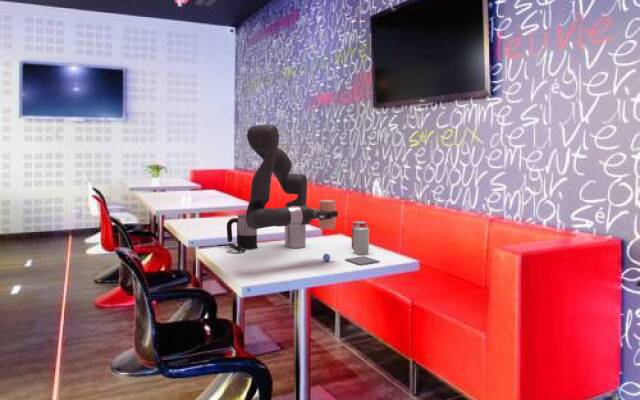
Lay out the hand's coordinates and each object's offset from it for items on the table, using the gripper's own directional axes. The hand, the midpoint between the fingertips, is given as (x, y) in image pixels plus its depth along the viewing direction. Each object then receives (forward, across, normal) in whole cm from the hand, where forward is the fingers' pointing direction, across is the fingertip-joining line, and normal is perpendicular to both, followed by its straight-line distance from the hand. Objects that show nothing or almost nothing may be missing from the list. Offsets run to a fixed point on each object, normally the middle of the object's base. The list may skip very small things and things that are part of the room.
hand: (332, 212), depth 201 cm
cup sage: (+19, +4, +20) cm, 27 cm away
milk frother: (-22, +37, +20) cm, 47 cm away
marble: (-2, 0, +20) cm, 20 cm away
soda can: (+25, +13, +20) cm, 34 cm away
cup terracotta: (-2, 0, +6) cm, 6 cm away
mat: (+10, -8, +20) cm, 23 cm away
